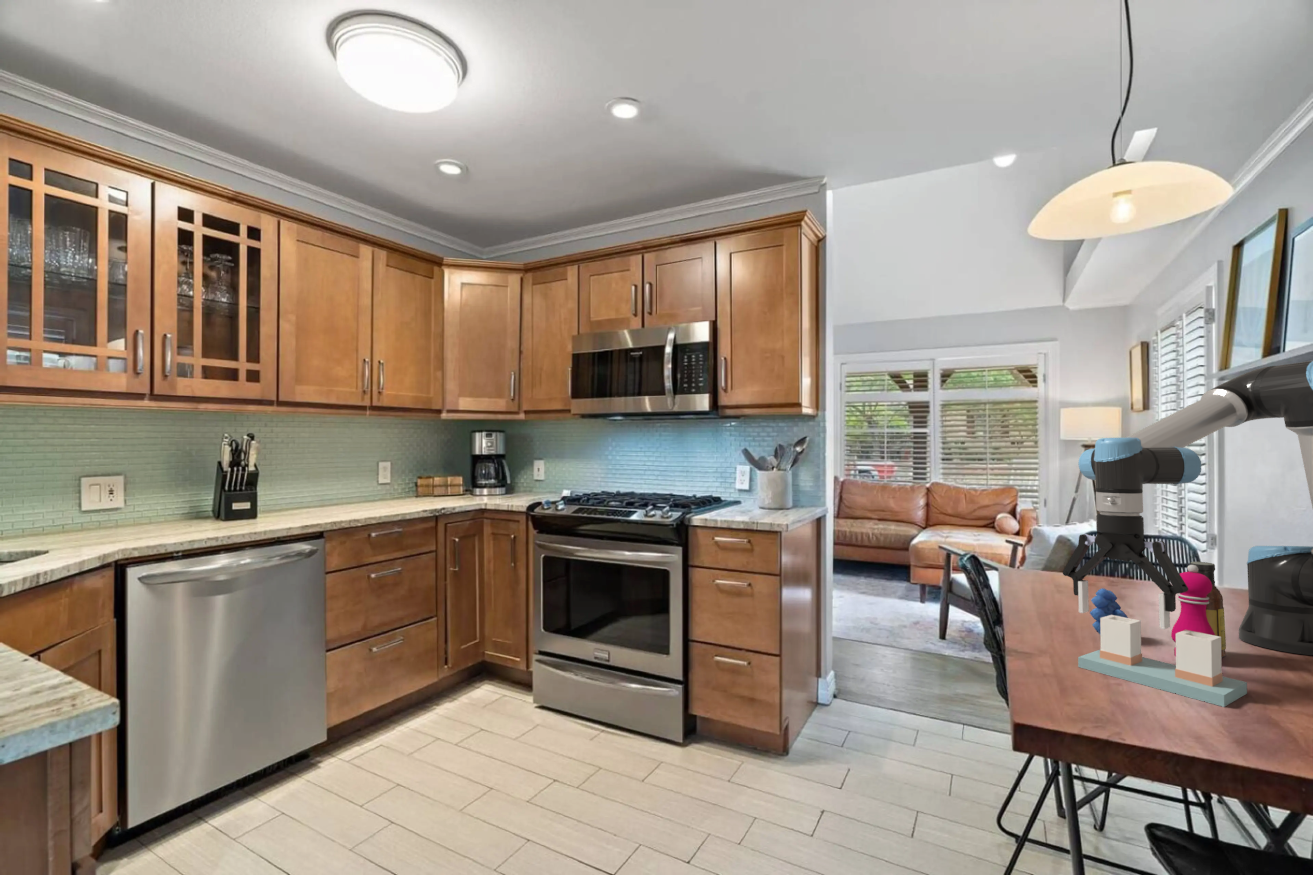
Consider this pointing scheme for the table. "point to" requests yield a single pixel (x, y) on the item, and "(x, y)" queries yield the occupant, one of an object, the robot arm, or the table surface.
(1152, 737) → the table surface
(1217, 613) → the sauce bottle
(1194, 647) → the seated sleeve
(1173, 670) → the pin board
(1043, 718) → the table surface
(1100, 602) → the grapes
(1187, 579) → the pepper mill
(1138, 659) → the sleeve
